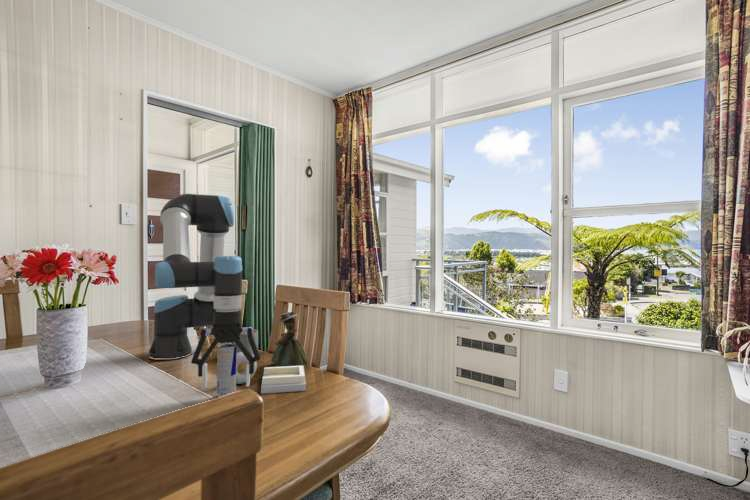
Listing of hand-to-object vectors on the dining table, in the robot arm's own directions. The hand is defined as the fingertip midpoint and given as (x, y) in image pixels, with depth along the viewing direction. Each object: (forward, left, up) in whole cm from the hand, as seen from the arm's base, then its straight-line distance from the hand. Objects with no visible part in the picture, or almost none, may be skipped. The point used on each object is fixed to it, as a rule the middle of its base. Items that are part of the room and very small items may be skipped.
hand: (226, 386), depth 111 cm
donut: (-11, +3, -3) cm, 12 cm away
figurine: (-27, +18, -3) cm, 33 cm away
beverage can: (0, 0, -3) cm, 3 cm away
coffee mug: (-42, -1, -3) cm, 42 cm away
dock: (-9, +16, -3) cm, 19 cm away
